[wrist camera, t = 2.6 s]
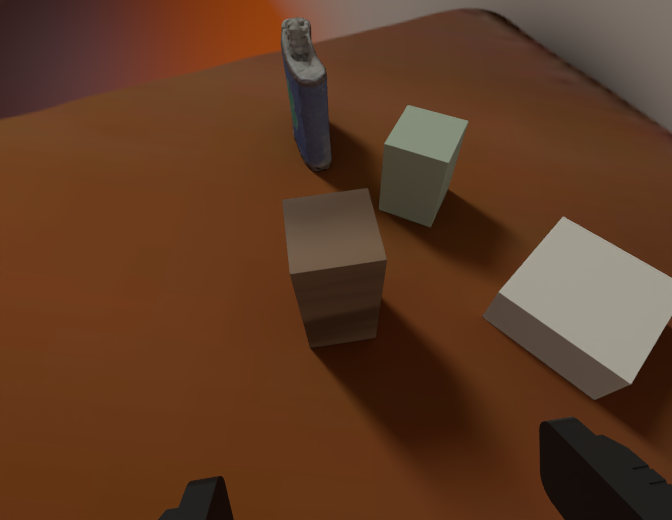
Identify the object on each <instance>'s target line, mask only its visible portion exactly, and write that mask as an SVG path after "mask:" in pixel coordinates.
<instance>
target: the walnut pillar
mask: <svg viewBox="0 0 672 520" xmlns="http://www.w3.org/2000/svg"><path fill="white" fill-rule="evenodd" d="M282 202H283V212H284V221H285V231H286V241H287V250H288V260H289V270H290V276H291V280H292V284H293V287H294V291H295V294H296V298H297V302H298V305H299V309H300V313H301V316H302V320H303V323H304V327H305V331H306V334H307V338H308V342H309V345H310V348H316V347H322V346H328V345H335V344H341V343H347V342H353V341H360V340H366V339H372V338H376V334H377V327H378V320H379V312H380V305H381V298H382V291H383V284H384V276H385V269H386V262H387V259H386V255H385V251H384V247H383V243H382V240H381V236H380V232H379V228H378V224H377V221H376V217H375V213H374V209H373V205H372V202H371V198H370V194H369V190H368V188H364V189H357V190H350V191H343V192H336V193H328V194H321V195H314V196H307V197H300V198H293V199H286V200H282Z"/></svg>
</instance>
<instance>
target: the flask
mask: <svg viewBox="0 0 672 520" xmlns="http://www.w3.org/2000/svg"><path fill="white" fill-rule="evenodd" d="M281 49H282V56H283V61H284V67H285V74H286V80H287V87H288V94H289V100H290V106H291V113H292V121H293V135H294V139H295V141H296V143H297V146H298V149H299V152H300V153H301V156H302V158H303V161H304V163H305V164H306V165H307V166H308V167H309V168H311V170H315V171H321V170H324V169H327V168H329V166H330V164H331V162H332V155H331V146H330V132H329V118H328V96H327V74H326V69H325V67H324V66H323V65H322V63H321V62H320V60H319V59H318V58H317V55H316V52H315V50H314V48H313V45H312V41H311V25H310V22H309V21H308V20H306V19H304V18H298V17H297V18H291V19H287V20H284V21H283V23H282V33H281ZM316 167H317V168H320V169H321V170H320V169H317V168H316Z"/></svg>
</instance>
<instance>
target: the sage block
mask: <svg viewBox="0 0 672 520" xmlns="http://www.w3.org/2000/svg"><path fill="white" fill-rule="evenodd" d="M467 124H468V121H466V120H462V119H459V118H455V117H451V116H447V115H444V114H440V113H436V112H432V111H429V110H425V109H421V108H417V107H414V106H410V105H408V106H407V107H406V109H405V111H404V112H403V114H402V116H401V117H400V119H399V121H398V122H397V124H396V125H395V127H394V129H393V130H392V132H391V134H390V135H389V137H388V139H387V140H386V142H385V143H384V154H383V165H382V177H381V189H380V201H379V210H382V211H385V212H387V213H390V214H393V215H396V216H399V217H402V218H405V219H407V220H410V221H413V222H416V223H419V224H422V225H425V226H428V227H430V228H431V226H432V224H433V221H434V219H435V217H436V215H437V212H438V210H439V208H440V206H441V204H442V201H443V199H444V197H445V195H446V193H447V190H448V188H449V184H450V181H451V178H452V174H453V171H454V168H455V164H456V161H457V158H458V154H459V151H460V148H461V144H462V141H463V138H464V134H465V131H466V128H467Z"/></svg>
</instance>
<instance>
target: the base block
mask: <svg viewBox="0 0 672 520" xmlns="http://www.w3.org/2000/svg"><path fill="white" fill-rule="evenodd" d="M671 316H672V278H671V277H669V276H667V275H666V274H664V273H662V272H660V271H659V270H657V269H655V268H653V267H651V266H650V265H648V264H646V263H644V262H643V261H641V260H639V259H637V258H636V257H634V256H632V255H630V254H629V253H627V252H625V251H623V250H621V249H620V248H618V247H616V246H614V245H613V244H611V243H609V242H607V241H606V240H604V239H602V238H600V237H599V236H597V235H595V234H593V233H591V232H590V231H588V230H586V229H584V228H583V227H581V226H579V225H577V224H576V223H574V222H572V221H570V220H568V219H567V218H565V217H562V218H561V220H560V221H559V222H558V223H557V224H556V225H555V227H554V228H553V229H552V230H551V231H550V232H549V234H548V235H547V236H546V237H545V238H544V240H543V241H542V242H541V243H540V244H539V245H538V247H537V248H536V249H535V250H534V251H533V252H532V254H531V255H530V256H529V257H528V258H527V259H526V261H525V262H524V263H523V264H522V265H521V266H520V268H519V269H518V270H517V271H516V272H515V274H514V275H513V276H512V277H511V278H510V279H509V281H508V282H507V283H506V284H505V285H504V286H503V288H502V289H501V290H500V291H499V292H498V294H497V295H496V297H495V298H494V300H493V301H492V303H491V304H490V306H489V307H488V308H487V310H486V311H485V313H484V314H483V316H482V317H483V318H484V319H486V320H487V321H488V322H490V323H491V324H492V325H494V326H495V327H496V328H498V329H499V330H500V331H502V332H503V333H505V334H506V335H507V336H509V337H510V338H511V339H513V340H514V341H515V342H517V343H518V344H519V345H521V346H522V347H523V348H525V349H526V350H527V351H529V352H530V353H532V354H533V355H534V356H536V357H537V358H538V359H540V360H541V361H542V362H544V363H545V364H546V365H548V366H549V367H550V368H552V369H553V370H554V371H556V372H557V373H558V374H560V375H561V376H563V377H564V378H565V379H567V380H568V381H569V382H571V383H572V384H573V385H575V386H576V387H577V388H579V389H580V390H581V391H583V392H584V393H585V394H587V395H588V396H590V397H591V398H592V399H594V400H596V399H598V398H600V397H603V396H605V395H607V394H610V393H612V392H614V391H617V390H619V389H621V388H624V387H626V386H628V385H631V384H632V382H633V380H634V379H635V377H636V375H637V373H638V372H639V370H640V368H641V367H642V365H643V363H644V362H645V360H646V358H647V356H648V355H649V353H650V351H651V350H652V348H653V346H654V345H655V343H656V341H657V340H658V338H659V336H660V334H661V333H662V331H663V329H664V328H665V326H666V324H667V323H668V321H669V319H670V317H671Z"/></svg>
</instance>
